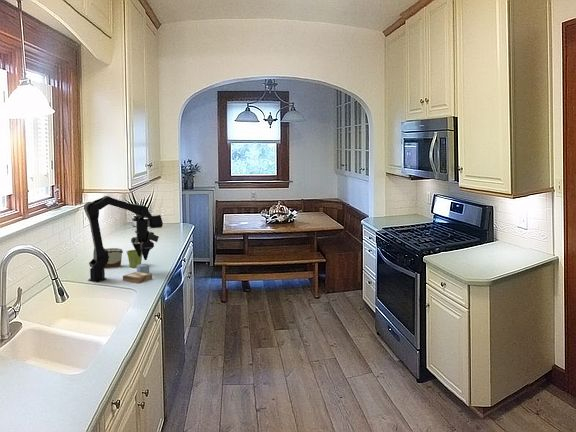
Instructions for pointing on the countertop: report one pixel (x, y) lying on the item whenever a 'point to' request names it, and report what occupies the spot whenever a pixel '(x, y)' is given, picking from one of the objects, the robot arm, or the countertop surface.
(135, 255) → the plant pot
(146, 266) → the block
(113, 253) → the food container
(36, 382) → the countertop surface
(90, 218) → the robot arm
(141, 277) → the base
